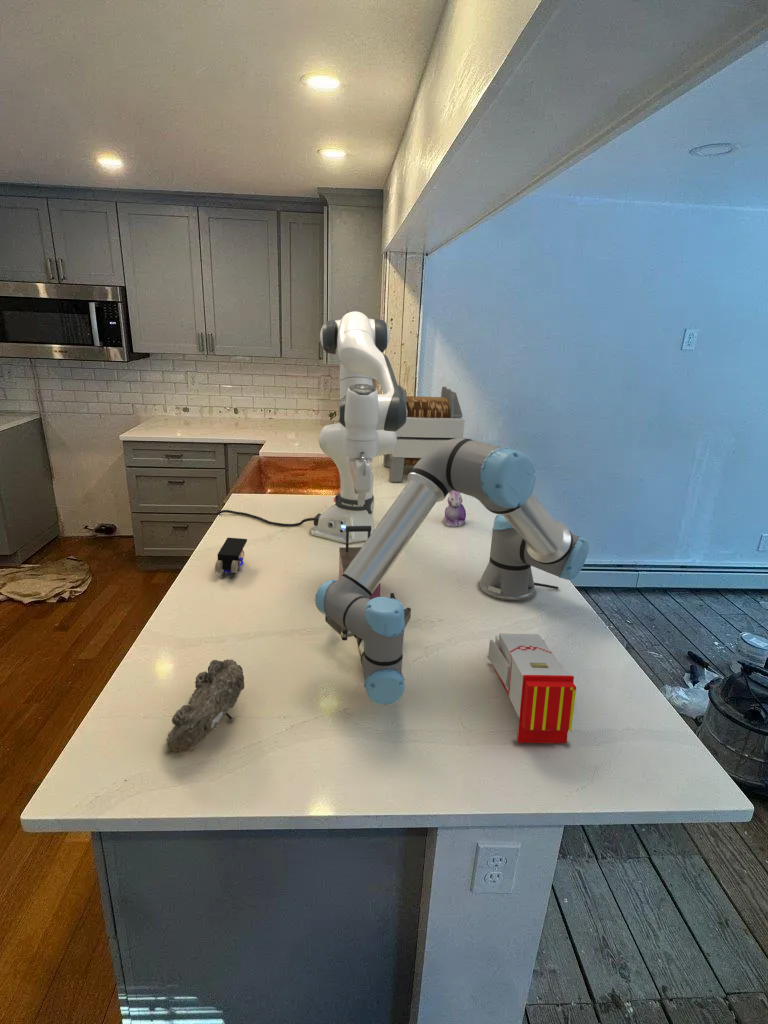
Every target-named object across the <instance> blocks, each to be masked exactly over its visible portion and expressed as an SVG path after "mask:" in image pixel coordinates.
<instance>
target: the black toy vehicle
mask: <svg viewBox="0 0 768 1024" xmlns="http://www.w3.org/2000/svg"><path fill="white" fill-rule="evenodd" d="M247 542H248V538H240V537H226V539H225V541H224V543H223V544H222V546H221V547H220V549H219V551H218V552H217V560H216V562H215V564H214V572H215V573H221V577H222V578H224V577H225V576H226V574H227V573H230V574H231V573H232V574H231V578H234V577H235V575H236V573H237V572H239V571H240V567H242V566H243V565H244V564H245V562H244V558H245V551H244V547H245V546H246V544H247Z"/></svg>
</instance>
